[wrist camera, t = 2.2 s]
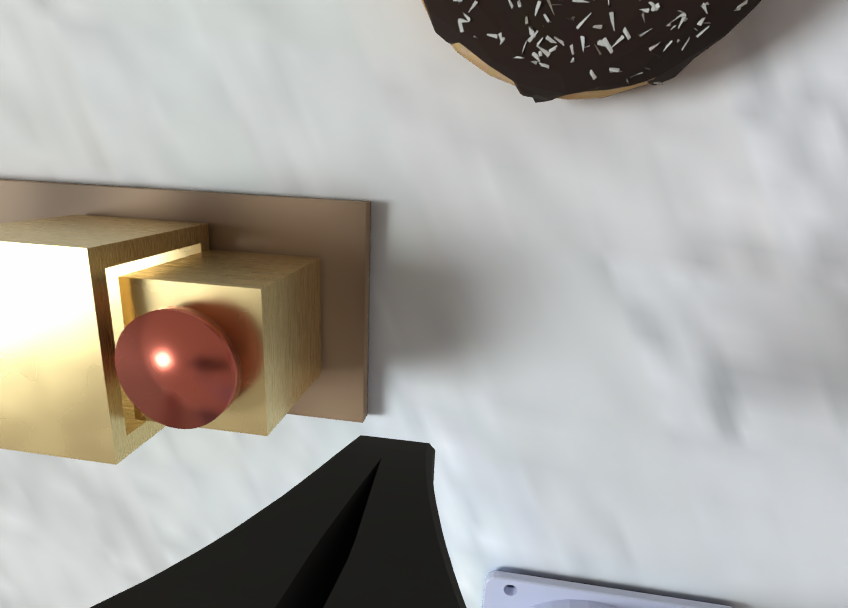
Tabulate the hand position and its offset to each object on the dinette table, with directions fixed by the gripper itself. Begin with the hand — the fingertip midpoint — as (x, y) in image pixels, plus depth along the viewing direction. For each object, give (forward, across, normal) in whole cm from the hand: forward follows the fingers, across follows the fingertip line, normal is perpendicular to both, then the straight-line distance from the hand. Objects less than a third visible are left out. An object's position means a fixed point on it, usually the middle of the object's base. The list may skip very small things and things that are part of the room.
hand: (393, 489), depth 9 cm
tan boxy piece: (+9, +9, 0) cm, 12 cm away
